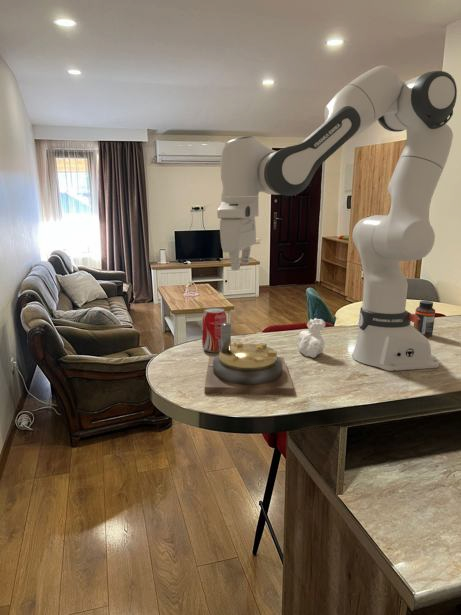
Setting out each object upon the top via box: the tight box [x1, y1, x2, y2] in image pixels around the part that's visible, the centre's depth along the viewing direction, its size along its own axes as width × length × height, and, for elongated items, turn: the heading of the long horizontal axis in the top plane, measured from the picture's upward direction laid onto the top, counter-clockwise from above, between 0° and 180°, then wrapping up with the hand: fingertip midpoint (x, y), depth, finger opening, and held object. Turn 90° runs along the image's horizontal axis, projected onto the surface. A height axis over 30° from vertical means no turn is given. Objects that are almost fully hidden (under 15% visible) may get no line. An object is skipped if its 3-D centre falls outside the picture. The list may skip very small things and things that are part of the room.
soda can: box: [201, 307, 228, 353], centre depth 126 cm, size 7×7×12 cm
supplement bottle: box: [413, 300, 436, 338], centre depth 143 cm, size 6×6×11 cm
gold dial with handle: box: [218, 322, 278, 371], centre depth 106 cm, size 14×14×9 cm
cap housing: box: [204, 354, 295, 395], centre depth 108 cm, size 20×20×4 cm
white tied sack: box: [296, 317, 326, 359], centre depth 125 cm, size 12×8×11 cm
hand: (240, 266), depth 108 cm, fingers open, 8 cm apart
